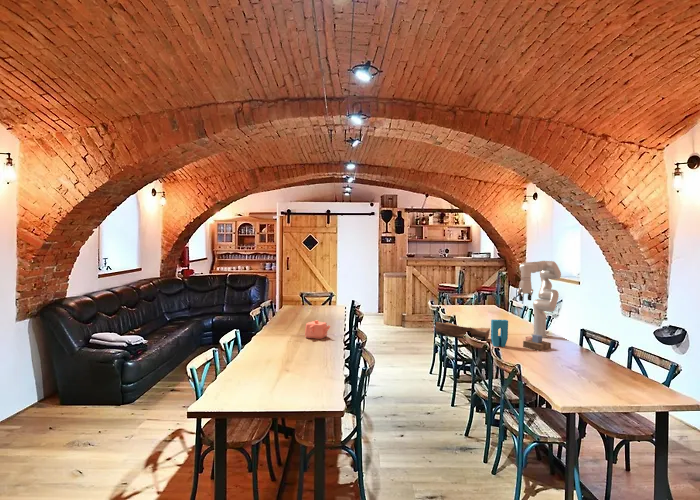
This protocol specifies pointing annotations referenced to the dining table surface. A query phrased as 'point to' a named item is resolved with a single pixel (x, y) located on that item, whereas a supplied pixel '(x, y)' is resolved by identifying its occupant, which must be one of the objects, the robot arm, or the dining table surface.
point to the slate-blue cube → (537, 338)
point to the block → (503, 336)
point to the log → (461, 331)
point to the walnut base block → (537, 345)
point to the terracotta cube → (528, 338)
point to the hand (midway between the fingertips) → (525, 300)
